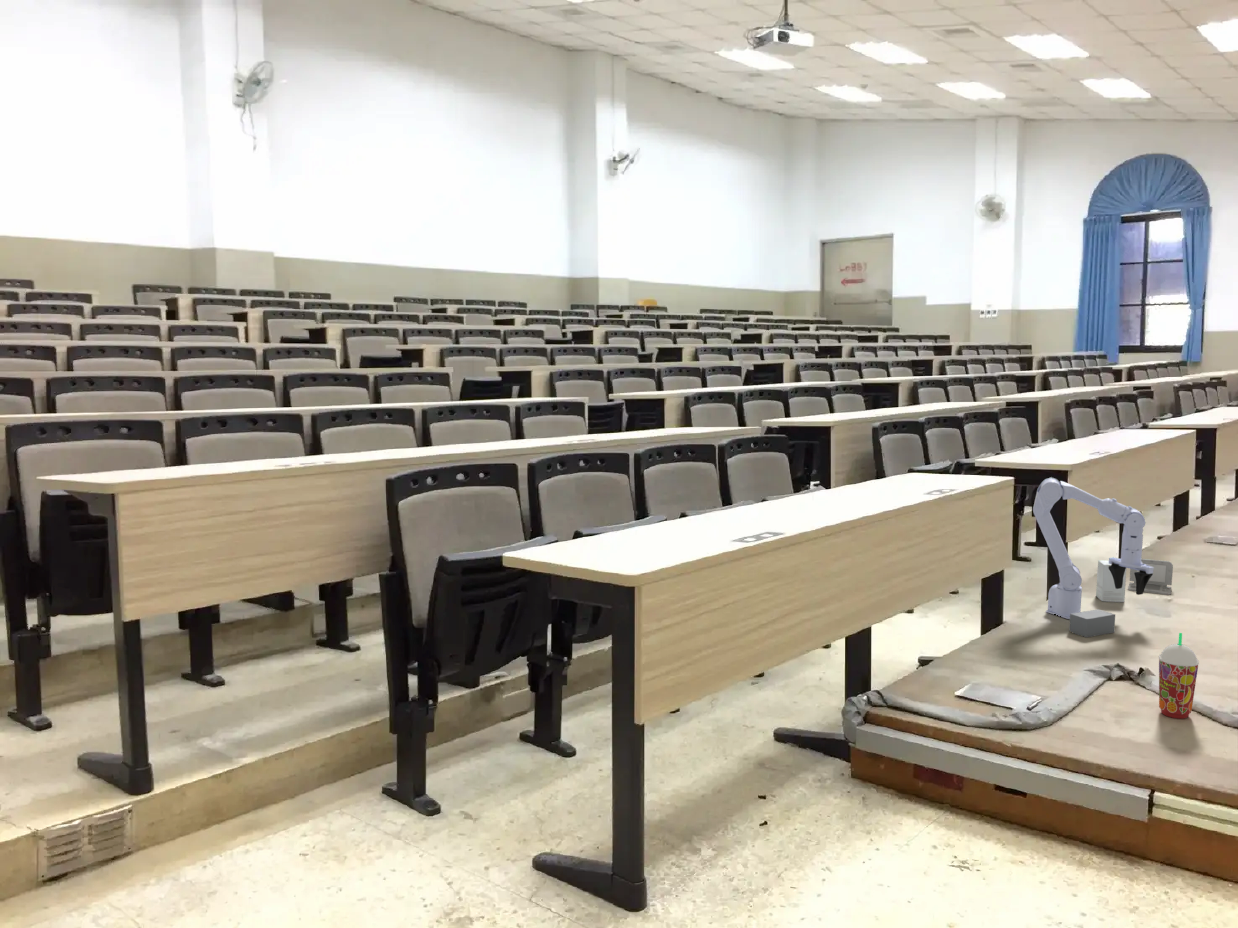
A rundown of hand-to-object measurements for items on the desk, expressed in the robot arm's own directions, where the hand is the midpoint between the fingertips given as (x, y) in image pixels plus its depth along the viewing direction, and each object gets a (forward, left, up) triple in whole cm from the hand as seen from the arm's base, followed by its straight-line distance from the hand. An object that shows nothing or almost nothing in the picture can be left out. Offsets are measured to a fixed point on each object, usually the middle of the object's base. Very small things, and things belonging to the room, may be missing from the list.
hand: (1128, 591), depth 315 cm
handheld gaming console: (-23, +38, -10) cm, 46 cm away
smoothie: (+59, -55, -10) cm, 81 cm away
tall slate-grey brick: (+4, -20, -9) cm, 22 cm away
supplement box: (-20, +16, -10) cm, 27 cm away
